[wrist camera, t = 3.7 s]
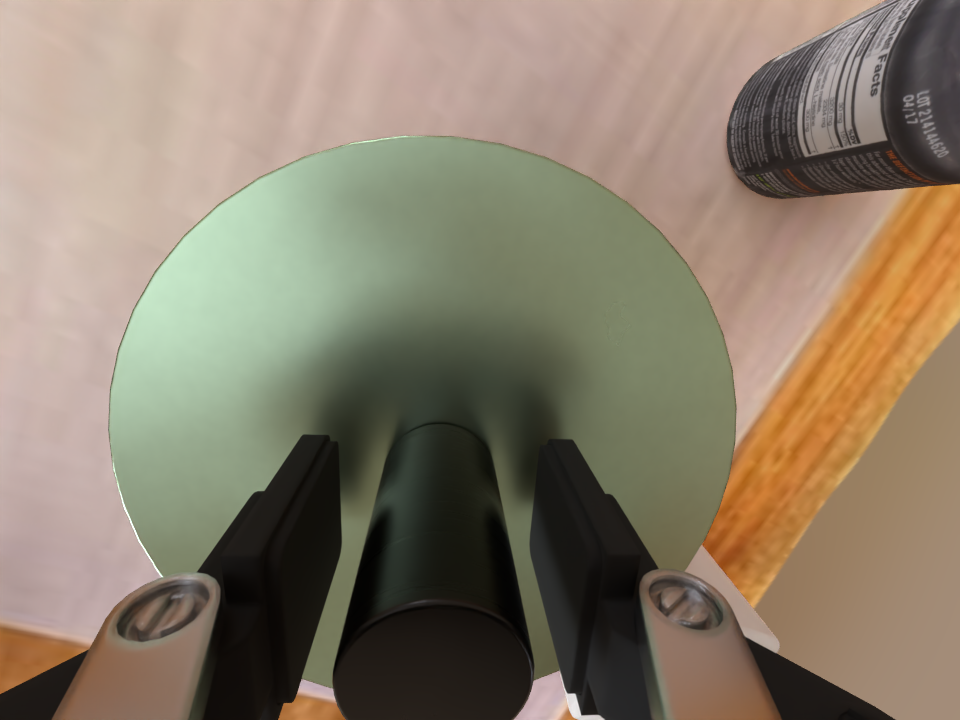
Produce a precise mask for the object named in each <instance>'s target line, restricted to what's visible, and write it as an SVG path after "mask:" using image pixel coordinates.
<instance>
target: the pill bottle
mask: <svg viewBox="0 0 960 720" xmlns="http://www.w3.org/2000/svg"><path fill="white" fill-rule="evenodd" d="M727 148H728V154H729V158H730V162H731V165H732V167H733V169H734V170H735V172H736V174H737V176H738V178H739V179H740V180H741V181H742V182H744V184H745V185H746V186H747V187H748V188H750V189H751V190H752V191H754V192H756V193H758V194H761V195H763V196H766V197H771V198H778V199H786V198H800V197H813V196H824V195H835V194H844V193H855V192H866V191H879V190H893V189H903V188H914V187H926V186H938V185H950V184H960V0H886V1H884V2H882V3H880V4H878V5H876V6H874V7H872V8H870V9H868V10H866V11H865V12H863V13H861V14H859V15H857V16H855V17H853V18H851V19H849V20H847V21H845V22H843V23H841V24H839V25H837V26H836V27H834V28H832V29H830V30H828V31H826V32H824V33H822V34H820V35H818V36H816V37H814V38H812V39H811V40H809V41H807V42H805V43H803V44H801V45H799V46H797V47H795V48H793V49H791V50H789V51H787V52H785V53H783V54H781V55H780V56H778V57H776V58H774V59H772V60H771V61H769V62H768V63H766V64H765V65H763V66H762V67H761V68H760V69H759V70H758V71H757V72H756V73H755V74H754V75H753V76H752V77H751V78H750V79H749V80H748V82H747V83H746V84H745V85H744V87H743V89H742V90H741V92H740V93H739V95H738V97H737V99H736V101H735V103H734V106H733V109H732V112H731V114H730V118H729V122H728V127H727Z"/></svg>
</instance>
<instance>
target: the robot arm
mask: <svg viewBox="0 0 960 720" xmlns="http://www.w3.org/2000/svg"><path fill="white" fill-rule="evenodd" d="M529 546H530V555H531V560H532V563H533V567H534V571H535V575H536V579H537V583H538V587H539V591H540V594H541V598H542V602H543V606H544V610H545V614H546V618H547V622H548V625H549V629H550V633H551V637H552V641H553V645H554V649H555V653H556V656H557V660H558V664H559V668H560V672H561V676H562V680H563V684H564V687H565V690H566V692H567V693H568V694H576V698H577V702H578V705H579V709H580V712H581V716H583V715H600V716H601V717H602V718H603V719H605V720H895V719H893V718H892V717H890V716H889V715H887V714H886V713H884V712H882V711H881V710H879V709H878V708H876V707H875V706H873V705H871V704H869V703H867V702H865V701H863V700H862V699H860V698H858V697H856V696H854V695H852V694H850V693H849V692H847V691H845V690H843V689H841V688H839V687H838V686H836V685H834V684H832V683H830V682H828V681H826V680H825V679H823V678H821V677H819V676H817V675H815V674H814V673H811V672H810V671H808V670H806V669H804V668H802V667H801V666H799V665H797V664H795V663H793V662H791V661H789V660H788V659H786V658H784V657H782V656H780V655H778V654H777V653H775V652H773V651H771V650H769V649H767V648H765V647H764V646H762V645H760V644H758V643H756V642H754V641H753V640H751V639H749V638H747V637H745V636H744V634H743V632H742V629H741V627H740V625H739V623H738V621H737V618H736V616H735V614H734V612H733V610H732V608H731V606H730V605H729V603H728V602H727V600H726V598H725V597H724V596H723V595H722V594H721V593H720V592H719V591H718V590H717V589H716V588H715V587H713V586H712V585H710V584H709V583H707V582H706V581H704V580H703V579H701V578H699V577H696V576H694V575H692V574H690V573H687V572H683V571H680V570H676V569H663V568H662V569H659V568H658V566H657V565H656V563H655V561H654V560H653V558H652V557H651V555H650V553H649V552H648V550H647V549H646V547H645V545H644V544H643V542H642V541H641V539H640V537H639V536H638V534H637V532H636V531H635V529H634V528H633V526H632V524H631V523H630V521H629V520H628V518H627V516H626V515H625V513H624V511H623V510H622V508H621V507H620V505H619V503H618V502H617V500H616V499H615V497H614V496H613V495H611V494H605V492H604V491H603V489H602V487H601V486H600V484H599V482H598V481H597V479H596V477H595V476H594V474H593V472H592V471H591V469H590V467H589V466H588V464H587V462H586V460H585V459H584V457H583V455H582V454H581V452H580V450H579V449H578V447H577V445H576V444H575V442H574V441H573V439H549V440H548V442H547V445H540V448H539V455H538V464H537V473H536V483H535V492H534V502H533V511H532V521H531V530H530V541H529ZM341 548H342V525H341V497H340V469H339V445H338V442H337V441H330V437H329V435H311V434H303V435H302V436H301V437H300V439H299V440H298V442H297V443H296V445H295V446H294V448H293V449H292V451H291V452H290V454H289V455H288V457H287V458H286V460H285V461H284V462H283V464H282V465H281V467H280V468H279V470H278V471H277V473H276V474H275V476H274V477H273V479H272V480H271V482H270V483H269V485H268V486H267V488H266V489H265V491H257V492H254V493H253V494H252V495H251V496H250V498H249V499H248V501H247V502H246V503H245V505H244V506H243V508H242V509H241V510H240V512H239V513H238V515H237V516H236V518H235V519H234V520H233V522H232V523H231V525H230V526H229V527H228V529H227V530H226V532H225V533H224V534H223V536H222V537H221V539H220V540H219V541H218V543H217V544H216V546H215V547H214V548H213V550H212V551H211V553H210V554H209V555H208V557H207V558H206V560H205V561H204V562H203V564H202V565H201V567H200V568H199V569H198V571H197V572H186V573H177V574H173V575H169V576H165V577H161V578H159V579H157V580H154V581H152V582H150V583H147V584H145V585H143V586H142V587H140V588H138V589H137V590H135V591H133V592H132V593H130V594H129V595H127V596H126V597H125V598H124V599H123V600H122V601H120V602H119V603H118V604H117V605H116V606H115V607H114V608H113V610H112V611H111V612H110V614H109V615H108V616H107V618H106V619H105V621H104V623H103V625H102V627H101V629H100V630H99V632H98V634H97V636H96V638H95V640H94V642H93V643H92V645H91V647H90V649H89V650H87V651H85V652H83V653H81V654H79V655H77V656H75V657H73V658H71V659H69V660H67V661H65V662H63V663H61V664H59V665H57V666H55V667H53V668H51V669H49V670H47V671H45V672H43V673H41V674H40V675H38V676H36V677H34V678H32V679H30V680H28V681H26V682H24V683H22V684H20V685H18V686H16V687H14V688H12V689H10V690H8V691H6V692H4V693H2V694H0V720H278V718H279V715H280V712H281V709H282V706H283V703H292V702H293V701H294V699H295V697H296V694H297V691H298V688H299V685H300V682H301V679H302V675H303V672H304V669H305V666H306V663H307V660H308V656H309V653H310V650H311V647H312V644H313V641H314V637H315V634H316V631H317V628H318V625H319V621H320V618H321V615H322V612H323V609H324V606H325V602H326V599H327V596H328V593H329V590H330V587H331V583H332V580H333V577H334V574H335V571H336V567H337V564H338V561H339V558H340V554H341Z"/></svg>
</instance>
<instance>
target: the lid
mask: <svg viewBox="0 0 960 720" xmlns="http://www.w3.org/2000/svg"><path fill="white" fill-rule="evenodd" d="M108 431H109V439H110V447H111V456H112V464H113V471H114V474H115V478H116V481H117V485H118V489H119V492H120V496H121V500H122V503H123V506H124V509H125V511H126V513H127V515H128V518H129V520H130V522H131V525H132V527H133V529H134V531H135V534H136V536H137V538H138V540H139V542H140V544H141V545H142V547H143V548H144V550H145V552H146V553H147V555H148V557H149V558H150V560H151V561H152V563H153V565H154V566H155V568H156V569H157V571H158V572H159V574H160V575H161V576H162V577H165V576H169V575H173V574H177V573H186V572H197V571H198V569H199V568H200V567H201V565H202V564H203V562H204V561H205V560H206V558H207V557H208V555H209V554H210V553H211V551H212V550H213V548H214V547H215V546H216V544H217V543H218V541H219V540H220V539H221V537H222V536H223V534H224V533H225V532H226V530H227V529H228V527H229V526H230V525H231V523H232V522H233V520H234V519H235V518H236V516H237V515H238V513H239V512H240V510H241V509H242V508H243V506H244V505H245V503H246V502H247V501H248V499H249V498H250V496H251V495H252V494H253V493H254V492H257V491H265V489H266V488H267V486H268V485H269V483H270V482H271V480H272V479H273V477H274V476H275V474H276V473H277V471H278V470H279V468H280V467H281V465H282V464H283V462H284V461H285V460H286V458H287V457H288V455H289V454H290V452H291V451H292V449H293V448H294V446H295V445H296V443H297V442H298V440H299V439H300V437H301V436H302V435H303V434H311V435H329V437H330V441H337V442H338V445H339V469H340V497H341V525H342V548H341V554H340V558H339V561H338V564H337V567H336V571H335V574H334V577H333V580H332V583H331V587H330V590H329V593H328V596H327V599H326V602H325V606H324V609H323V612H322V615H321V618H320V621H319V625H318V628H317V631H316V634H315V637H314V641H313V644H312V647H311V650H310V653H309V656H308V660H307V663H306V666H305V669H304V672H303V675H302V679H304V680H307V681H310V682H313V683H317V684H320V685H323V686H326V687H329V688H333V691H334V696H335V699H336V702H337V705H338V707H339V709H340V711H341V713H342V715H343V716H344V717H345V719H346V720H513V719H514V718H515V717H516V716H517V715H518V714H519V712H520V711H521V710H522V708H523V707H524V705H525V703H526V701H527V700H528V697H529V695H530V692H531V689H532V685H533V681H534V680H536V679H539V678H541V677H544V676H547V675H549V674H552V673H554V672H557V671H559V670H560V668H559V664H558V660H557V656H556V653H555V649H554V645H553V641H552V637H551V633H550V629H549V625H548V622H547V618H546V614H545V610H544V606H543V602H542V598H541V594H540V591H539V587H538V583H537V579H536V575H535V571H534V567H533V563H532V560H531V555H530V546H529V541H530V530H531V521H532V511H533V502H534V492H535V483H536V473H537V464H538V455H539V448H540V445H547V442H548V440H549V439H573V441H574V442H575V444H576V445H577V447H578V449H579V450H580V452H581V454H582V455H583V457H584V459H585V460H586V462H587V464H588V466H589V467H590V469H591V471H592V472H593V474H594V476H595V477H596V479H597V481H598V482H599V484H600V486H601V487H602V489H603V491H604V492H605V494H611V495H613V496H614V497H615V499H616V500H617V502H618V503H619V505H620V507H621V508H622V510H623V511H624V513H625V515H626V516H627V518H628V520H629V521H630V523H631V524H632V526H633V528H634V529H635V531H636V532H637V534H638V536H639V537H640V539H641V541H642V542H643V544H644V545H645V547H646V549H647V550H648V552H649V553H650V555H651V557H652V558H653V560H654V561H655V563H656V565H657V566H658V568H659V569H662V568H663V569H676V570H680V571H683V572H684V571H685V570H686V569H687V567H688V566H689V564H690V562H691V561H692V559H693V558H694V556H695V554H696V553H697V551H698V549H699V548H700V546H701V545H702V543H703V541H704V540H705V538H706V536H707V534H708V531H709V529H710V527H711V525H712V523H713V521H714V518H715V516H716V514H717V512H718V510H719V507H720V504H721V501H722V498H723V494H724V491H725V488H726V485H727V482H728V479H729V475H730V469H731V463H732V458H733V452H734V446H735V433H736V398H735V389H734V379H733V370H732V366H731V363H730V359H729V355H728V351H727V347H726V343H725V339H724V335H723V333H722V330H721V328H720V325H719V323H718V321H717V318H716V316H715V314H714V311H713V309H712V306H711V304H710V302H709V299H708V297H707V296H706V294H705V292H704V291H703V289H702V287H701V286H700V284H699V282H698V281H697V279H696V278H695V276H694V274H693V273H692V271H691V269H690V268H689V266H688V264H687V263H686V262H685V260H684V259H683V258H682V257H681V256H680V255H679V253H678V252H677V251H676V250H675V249H674V247H673V246H672V245H671V244H670V243H669V241H668V240H667V239H666V238H665V237H664V235H663V234H662V233H661V232H660V231H659V230H658V229H657V228H656V227H655V226H654V225H653V224H651V223H650V222H649V221H648V220H647V219H646V218H645V217H644V216H642V215H641V214H640V213H639V212H638V211H637V210H636V209H635V208H633V207H632V206H631V205H630V204H629V203H628V202H627V201H625V200H624V199H622V198H620V197H619V196H617V195H616V194H614V193H613V192H611V191H610V190H608V189H607V188H605V187H604V186H602V185H601V184H599V183H598V182H596V181H595V180H593V179H592V178H590V177H588V176H586V175H584V174H582V173H580V172H577V171H575V170H573V169H571V168H569V167H567V166H565V165H562V164H560V163H558V162H556V161H554V160H552V159H549V158H547V157H544V156H541V155H538V154H534V153H531V152H528V151H524V150H521V149H518V148H514V147H511V146H508V145H504V144H501V143H495V142H488V141H481V140H475V139H468V138H461V137H455V136H397V137H389V138H382V139H375V140H368V141H361V142H353V143H349V144H346V145H342V146H339V147H336V148H332V149H329V150H325V151H322V152H318V153H315V154H312V155H308V156H305V157H302V158H300V159H298V160H296V161H294V162H291V163H289V164H287V165H285V166H283V167H281V168H278V169H276V170H274V171H272V172H270V173H267V174H265V175H263V176H261V177H259V178H257V179H256V180H254V181H253V182H251V183H250V184H248V185H247V186H245V187H244V188H242V189H241V190H239V191H238V192H236V193H235V194H233V195H232V196H230V197H228V198H227V199H225V200H224V201H222V202H221V203H219V204H218V205H217V206H216V207H215V208H214V209H213V210H211V211H210V212H209V213H208V214H207V215H206V216H205V217H204V218H203V219H202V220H200V221H199V222H198V223H197V224H196V225H195V226H194V227H193V228H192V229H190V230H189V231H188V232H187V233H186V234H185V235H184V236H183V237H182V238H181V240H180V241H179V242H178V243H177V245H176V246H175V247H174V248H173V250H172V251H171V252H170V253H169V255H168V256H167V257H166V258H165V260H164V261H163V262H162V263H161V264H160V266H159V267H158V268H157V269H156V271H155V272H154V274H153V276H152V278H151V279H150V281H149V283H148V285H147V286H146V288H145V290H144V292H143V293H142V295H141V297H140V299H139V300H138V302H137V304H136V306H135V307H134V309H133V311H132V314H131V317H130V319H129V322H128V325H127V327H126V330H125V333H124V335H123V338H122V341H121V343H120V346H119V349H118V353H117V358H116V363H115V368H114V373H113V378H112V383H111V388H110V403H109V429H108Z"/></svg>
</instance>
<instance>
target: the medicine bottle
mask: <svg viewBox="0 0 960 720" xmlns="http://www.w3.org/2000/svg"><path fill="white" fill-rule="evenodd" d="M684 572H687V573H690V574H692V575H694V576H696V577H699V578H701V579H703V580H704V581H706V582H707V583H709V584H710V585H712V586H713V587H715V588H716V589H717V590H718V591H719V592H720V593H721V594H722V595H723V596H724V597H725V598H726V600H727V602H728V603H729V605H730V606H731V608H732V610H733V612H734V614H735V616H736V618H737V621H738V623H739V625H740V627H741V629H742V632H743V634H744V636H745V637H747V638H749V639H751V640H753V641H754V642H756V643H758V644H760V645H762V646H764V647H765V648H767V649H769V650H771V651H773V652H775V653H777V652H778V650H779V647H780V644H779V641H778V639H777V638H776V637H775V635H774V634H773V633H772V632H771V631H770V629H769V628H768V627H767V625H766V624H765V623H764V622H763V620H762V619H761V618H760V617H759V615H758V614H757V613H756V612H755V610H754V609H753V608H752V607H751V605H750V604H749V603H748V602H747V600H746V599H745V598H744V597H743V595H742V594H741V593H740V592H739V590H738V589H737V588H736V587H735V585H734V584H733V583H732V582H731V580H730V579H729V578H728V577H727V575H726V574H725V573H724V572H723V570H722V569H721V568H720V567H719V565H718V564H717V563H716V562H715V560H714V559H713V558H712V557H711V555H710V554H709V553H708V552H707V550H706V549H705V548H704V547H703V545H701V546H700V548H699V549H698V551H697V553H696V554H695V556H694V558H693V559H692V561H691V562H690V564H689V566H688V567H687V569H686V570H685V571H684ZM559 671H560V670H559ZM560 675H561V672H560ZM561 679H562V676H561ZM562 683H563V680H562ZM563 687H564V684H563ZM564 691H565V695H566V698H567V702H568V706H569V710H570V712H571V714H572V716H573V717H574V718H576V719H579V720H605V719H603V718H602V717H601V716H600V715H583V716H581V712H580V709H579V705H578V702H577V698H576V694H568V693H567V692H566V690H565V687H564Z"/></svg>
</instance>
